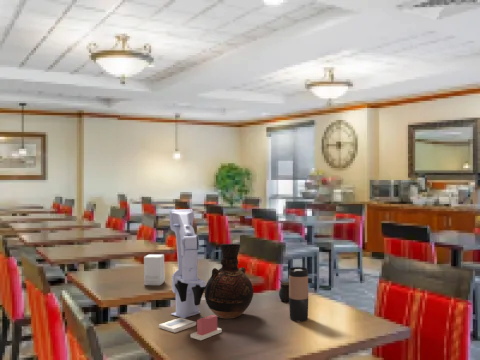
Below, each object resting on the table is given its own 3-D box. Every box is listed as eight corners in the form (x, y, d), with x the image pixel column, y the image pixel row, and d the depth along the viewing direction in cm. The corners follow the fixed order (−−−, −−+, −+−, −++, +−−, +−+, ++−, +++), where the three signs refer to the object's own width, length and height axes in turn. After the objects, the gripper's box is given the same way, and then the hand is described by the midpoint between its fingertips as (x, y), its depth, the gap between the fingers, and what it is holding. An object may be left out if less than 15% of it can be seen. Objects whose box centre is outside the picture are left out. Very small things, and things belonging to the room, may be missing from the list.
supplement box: (165, 281, 253) (164, 254, 253) (160, 285, 244) (160, 257, 244) (148, 281, 254) (148, 254, 254) (143, 285, 245) (143, 256, 245)
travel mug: (306, 315, 191) (306, 266, 191) (310, 321, 183) (309, 270, 183) (288, 315, 191) (287, 267, 190) (290, 321, 183) (290, 271, 183)
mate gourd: (294, 303, 209) (293, 280, 209) (277, 302, 211) (276, 280, 211) (295, 298, 216) (295, 277, 216) (279, 298, 218) (278, 276, 218)
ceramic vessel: (216, 326, 178) (215, 248, 178) (196, 314, 193) (196, 242, 193) (262, 317, 189) (261, 243, 188) (240, 307, 204) (240, 238, 203)
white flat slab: (180, 320, 186) (180, 317, 186) (196, 325, 180) (196, 321, 180) (158, 327, 177) (158, 324, 177) (174, 332, 171) (174, 329, 171)
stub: (211, 329, 174) (211, 312, 174) (221, 332, 171) (221, 315, 171) (190, 337, 166) (190, 320, 166) (200, 340, 163) (200, 322, 163)
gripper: (169, 266, 178) (169, 302, 178) (195, 271, 169) (196, 308, 169) (182, 263, 183) (183, 298, 184) (209, 268, 174) (209, 304, 174)
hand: (190, 303), depth 177 cm, fingers open, 7 cm apart
